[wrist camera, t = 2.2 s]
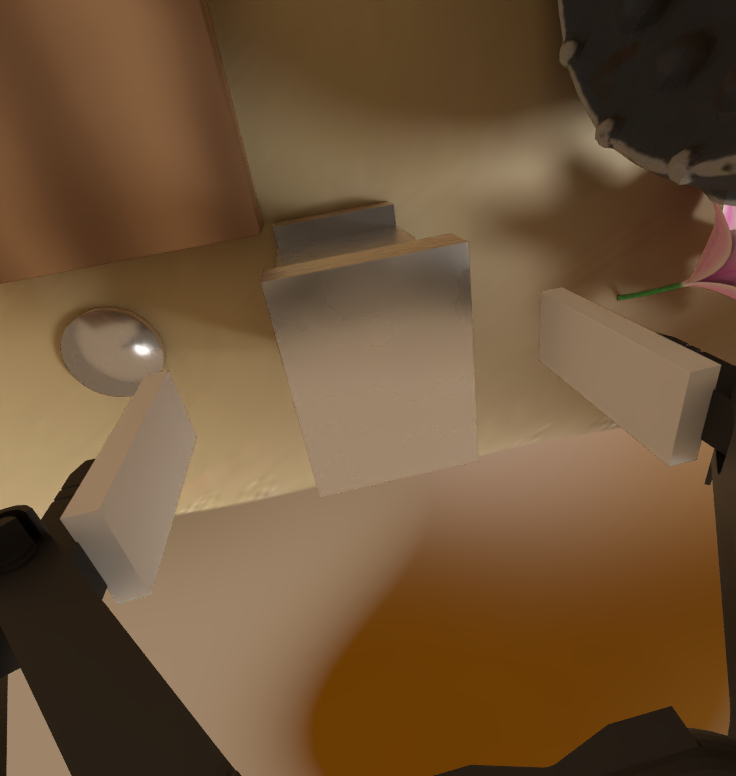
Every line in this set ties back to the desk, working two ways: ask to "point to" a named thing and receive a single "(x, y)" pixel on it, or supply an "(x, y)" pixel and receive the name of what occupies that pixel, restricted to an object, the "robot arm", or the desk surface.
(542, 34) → the desk surface
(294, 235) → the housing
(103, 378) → the domed puck
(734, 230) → the lily
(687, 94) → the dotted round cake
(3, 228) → the walnut stand
